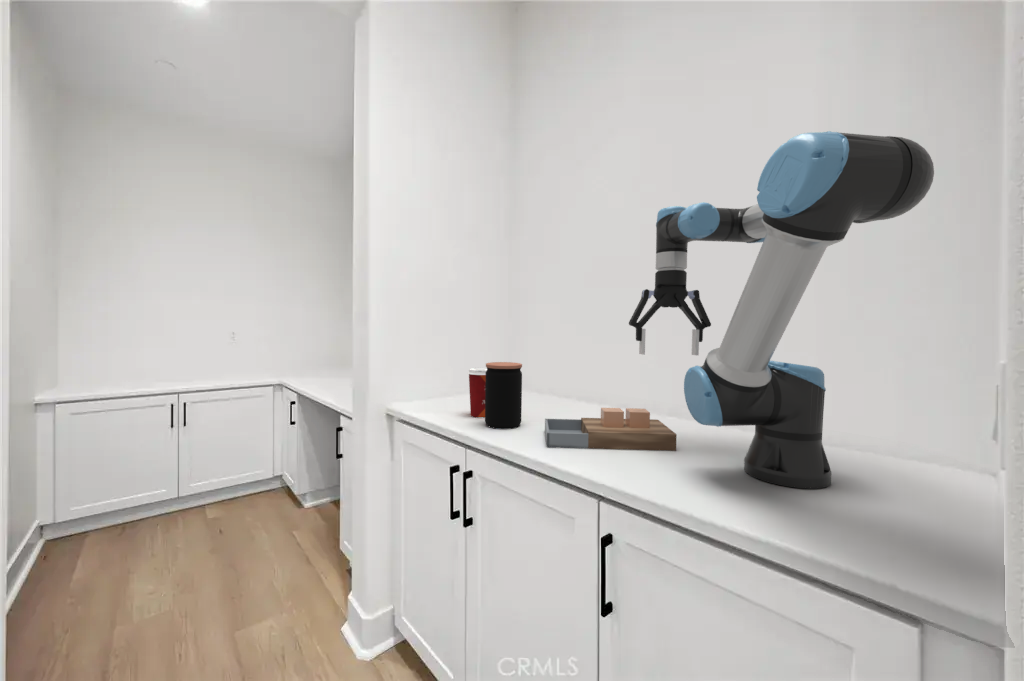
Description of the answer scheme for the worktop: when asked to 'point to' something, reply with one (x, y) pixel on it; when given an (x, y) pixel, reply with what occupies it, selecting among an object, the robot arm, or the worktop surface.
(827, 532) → the worktop surface
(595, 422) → the board
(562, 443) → the tray
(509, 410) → the coffee jar
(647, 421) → the tile
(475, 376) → the coffee cup
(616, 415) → the tile
